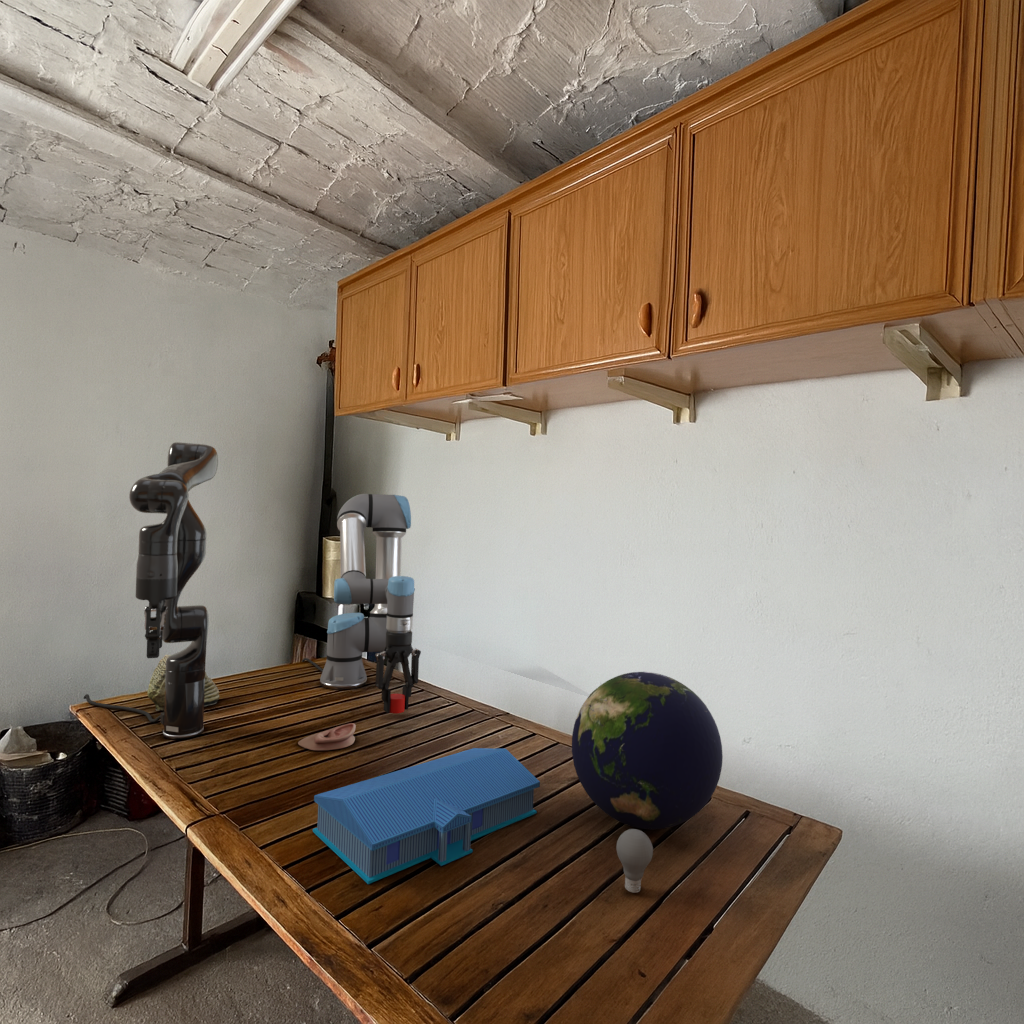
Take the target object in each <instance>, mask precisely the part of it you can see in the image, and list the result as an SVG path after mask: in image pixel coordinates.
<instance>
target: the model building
mask: <svg viewBox="0 0 1024 1024" xmlns="http://www.w3.org/2000/svg"><path fill="white" fill-rule="evenodd" d="M540 787H541V781H540V780H539V779H538V778H537V777H536V776H535V775H534V774H532V772H530V770H529V769H528V768H526V767H525V766H524V764H523V763H522V762H520V760H519V759H518V758H516V757H515V756H514V755H513V754H512V753H511V752H510V751H509V750H508V749H507V748H503V747H502V748H498V747H497V748H496V747H495V748H494V747H493V748H491V747H472V748H470V749H466V750H463V751H460V752H455V753H452V754H450V755H446V756H442V757H439V758H436V759H432V760H429V761H426V762H423V763H419V764H416V765H412V766H409V767H406V768H402V769H399V770H396V771H395V770H394V771H392V772H389V773H386V774H382V775H379V776H376V777H372V778H369V779H365V780H361V781H359V782H355V783H352V784H348V785H345V786H342V787H338V788H336V789H332V790H328V791H324V792H321V793H318V794H315V795H313V802H315V803H316V804H317V825H316V826H317V827H315V828H312V833H313V834H314V835H315V836H317V838H318V839H320V841H322V842H323V844H325V845H326V846H327V847H328V848H329V849H330V850H331V851H332V852H334V853H335V854H336V855H337V856H338V857H339V858H340V859H341V860H342V861H343V862H344V863H345V864H346V865H347V866H348V867H349V868H350V869H352V871H353V872H354V873H355V874H357V875H358V876H359V878H361V879H362V880H363V881H364V882H365V883H366V884H367V885H371V884H373V883H374V882H375V883H376V882H377V881H379V880H381V879H385V878H386V877H389V876H391V875H394V874H396V873H398V872H401V871H403V870H406V869H408V868H411V867H413V866H415V865H418V864H419V863H422V862H425V861H427V860H429V859H432V860H433V861H434V862H435V863H436V864H437V865H439V866H440V867H442V866H445V865H447V864H450V863H452V862H454V861H456V860H459V859H461V858H463V857H465V856H468V855H470V854H472V853H473V852H474V849H473V848H471V844H472V843H471V842H472V841H475V840H477V839H480V838H481V837H484V836H486V835H488V834H492V833H493V832H496V831H497V830H501V829H503V828H505V827H507V826H510V825H513V824H515V823H517V822H520V821H522V820H524V819H526V818H529V817H532V816H534V815H537V813H538V812H537V810H536V809H534V795H535V793H534V791H535V789H538V788H540Z"/></svg>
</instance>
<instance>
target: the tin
mask: <svg viewBox="0 0 1024 1024" xmlns="http://www.w3.org/2000/svg"><path fill="white" fill-rule="evenodd" d="M405 711H406V710H405V695H403V694H402V693H391V698H390V713H389V714H394V715H395V714H402V713H404V712H405Z"/></svg>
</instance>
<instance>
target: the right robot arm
mask: <svg viewBox="0 0 1024 1024" xmlns="http://www.w3.org/2000/svg"><path fill="white" fill-rule="evenodd" d="M411 526H412V513H411V507H410V502H409V499H408V498H407V497H406V496H405V495H398V494H377V493H376V494H375V493H360V494H357V495H355V496H352V497H351V498H350V499H348V500H347V501H346V502H345V503H344V504H343V505H342V506H341V508H340V510H339V511H338V514H337V517H336V527H337V530H338V531H339V532H340V533H339V542H340V543H339V545H340V547H339V548H340V549H339V550H340V554H339V555H340V556H339V557H340V562H339V563H340V578H336V579H334V582H333V586H334V587H333V601H334V603H335V604H338V605H348V606H349V605H374V607H373V608H372V610H371V611H369V617H365V615H364V613H362V612H347V613H340V614H337V615H334V616H332V617H331V618H329V620H328V623H327V630H326V633H327V639H326V640H327V644H326V659H325V660H326V661H325V664H324V666H323V668H322V667H320V666H319V665H318V664H317V663H316V662H314V661H313V660H311V659H310V658H308V657H305V658H303V659H302V660H301V662H302V663H304V662H308V663H310V664H311V665H312V666H314V667H315V668H316V669H317V670H319V671H320V672H321V675H320V678H319V685H320V686H321V687H323V688H325V689H329V690H339V691H340V690H341V691H343V690H344V691H345V690H353V689H359V688H361V687H364V686H365V685H366V684H367V680H368V677H367V672H366V668H365V666H364V662H363V653H375V654H374V657H375V660H376V665H375V669H376V670H375V683H374V685H375V687H376V688H377V689H379V690H381V697H380V699H381V700H382V701H383V711H384V712H385V713H386V714H391V713H390V698H391V694H392V690H391V689H390V688H389V687H390V685H391V680H392V677H393V673H394V670H395V668H396V666H397V664H399V663H400V665H401V669H402V674H403V679H404V683H405V684H402V693H401V694H403V695H405V711H406V710H407V711H408V710H409V702H410V701H409V699H410V698H412V689H413V687H414V686H415V685H417V684H418V683H419V670H420V669H419V666H420V656H421V654H422V651H421V650H420V649H418V648H413V645H412V643H413V631H412V630H413V625H414V603H415V601H414V600H415V590H416V589H415V579H414V578H413V577H411V576H405V575H402V573H401V572H402V542H403V541H402V540H403V537H404V536H405V535H407V530H408V529H411ZM367 528H372V535H374V537H376V550H375V551H376V552H375V553H376V554H375V559H376V560H375V578H367V573H366V572H367V571H366V551H365V550H366V549H365V548H366V547H365V530H366V529H367ZM410 656H411V659H410V660H411V661H410V662H411V665H410V662H409V657H410ZM386 658H387V661H386V668H385V660H386ZM384 668H385V669H384Z"/></svg>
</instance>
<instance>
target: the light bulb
mask: <svg viewBox="0 0 1024 1024" xmlns="http://www.w3.org/2000/svg"><path fill="white" fill-rule="evenodd" d="M615 849H616V854H617V857H618V859H619V861H620V863H621V865H622V867H623V873H624V874H623V875H624V876H625V878H624V888H625V890H627V891H628V892H630V893H634V894H635V893H639V892H640V891H641V889H642V887H641V886H642V879H643V877H644V875H645V871H646V868H647V867H648V866H649V864H650V863H651V861H652V859H653V855H654V847H653V843H652V841H651V838H649V836H648V835H647V834H646V833H645V832H643V831H642V830H641V829H638V828H629V829H627V830H625V831H623V832H622V833H621V834H620V835H619V837H618V839H617V841H616V847H615Z"/></svg>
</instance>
